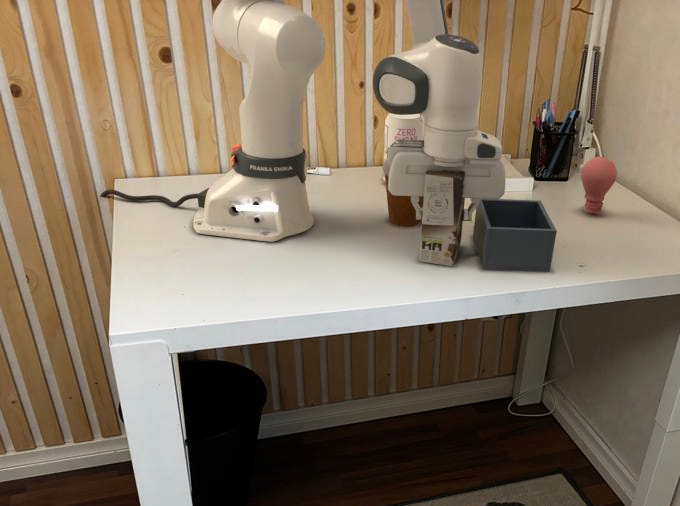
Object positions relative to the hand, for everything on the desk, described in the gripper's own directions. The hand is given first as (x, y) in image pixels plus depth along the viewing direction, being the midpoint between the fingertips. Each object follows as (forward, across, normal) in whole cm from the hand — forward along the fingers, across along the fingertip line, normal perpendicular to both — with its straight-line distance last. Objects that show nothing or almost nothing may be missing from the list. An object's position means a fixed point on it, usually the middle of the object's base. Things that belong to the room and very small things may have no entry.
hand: (443, 219), depth 130 cm
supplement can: (+7, -6, +38) cm, 39 cm away
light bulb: (+7, +34, +23) cm, 42 cm away
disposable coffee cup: (+7, -6, +15) cm, 18 cm away
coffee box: (+7, 0, 0) cm, 7 cm away
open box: (+7, +13, +1) cm, 15 cm away
